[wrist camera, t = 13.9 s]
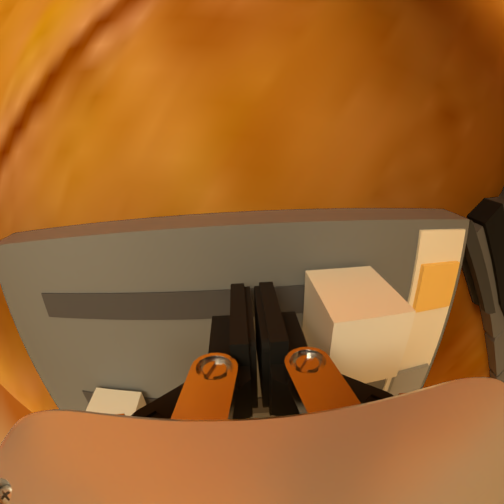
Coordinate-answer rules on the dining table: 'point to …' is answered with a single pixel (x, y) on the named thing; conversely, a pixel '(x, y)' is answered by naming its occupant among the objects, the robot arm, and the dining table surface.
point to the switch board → (209, 288)
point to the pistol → (488, 274)
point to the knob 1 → (116, 401)
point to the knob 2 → (357, 321)
